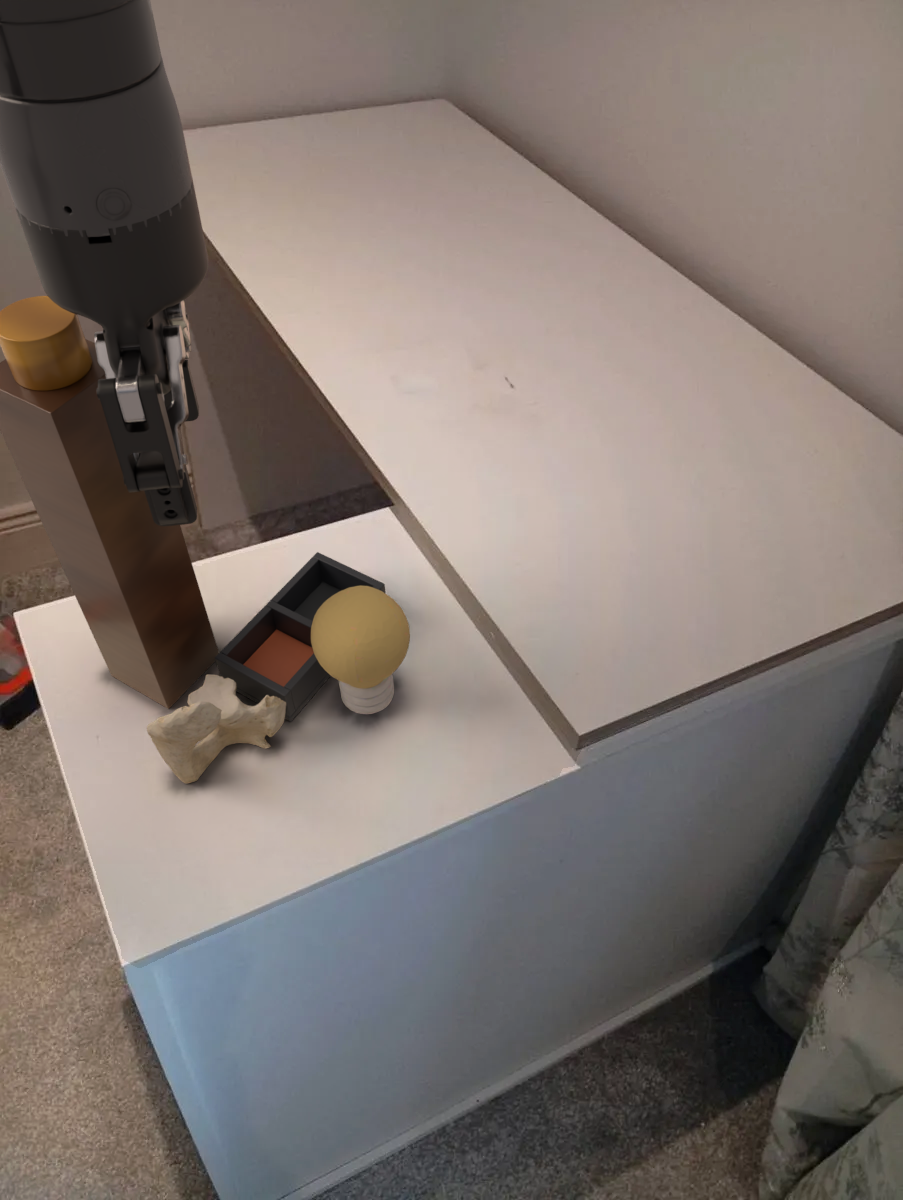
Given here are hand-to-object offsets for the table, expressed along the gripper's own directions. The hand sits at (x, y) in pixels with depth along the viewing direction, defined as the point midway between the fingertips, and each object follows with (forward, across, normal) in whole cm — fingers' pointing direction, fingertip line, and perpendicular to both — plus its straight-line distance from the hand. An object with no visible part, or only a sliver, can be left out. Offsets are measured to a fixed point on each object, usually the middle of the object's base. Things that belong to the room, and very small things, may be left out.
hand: (179, 467), depth 54 cm
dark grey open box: (+20, -3, +5) cm, 21 cm away
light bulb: (+21, +2, +9) cm, 23 cm away
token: (-5, -3, -6) cm, 8 cm away
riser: (+21, -3, -5) cm, 21 cm away
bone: (+21, +4, -1) cm, 21 cm away
